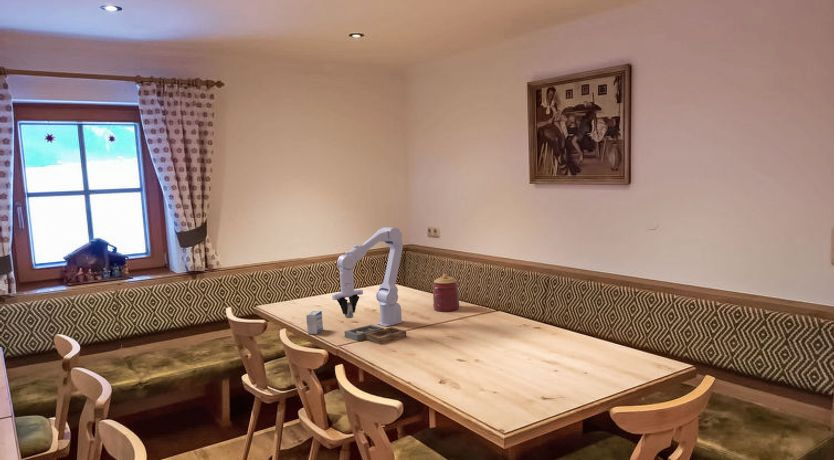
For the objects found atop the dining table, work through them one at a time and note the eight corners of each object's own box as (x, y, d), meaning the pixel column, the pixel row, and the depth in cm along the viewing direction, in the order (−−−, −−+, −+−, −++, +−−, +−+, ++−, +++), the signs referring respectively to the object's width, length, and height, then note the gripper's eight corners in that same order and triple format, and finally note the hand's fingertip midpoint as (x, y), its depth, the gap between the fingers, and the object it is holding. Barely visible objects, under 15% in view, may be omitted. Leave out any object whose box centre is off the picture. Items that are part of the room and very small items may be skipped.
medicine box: (316, 334, 261) (315, 315, 261) (307, 334, 262) (306, 314, 261) (323, 329, 269) (322, 310, 268) (313, 329, 270) (312, 310, 269)
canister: (464, 307, 299) (462, 272, 297) (451, 313, 288) (450, 276, 286) (441, 305, 306) (440, 270, 304) (428, 310, 295) (426, 275, 293)
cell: (350, 315, 264) (349, 301, 264) (354, 317, 262) (354, 302, 261) (343, 317, 262) (342, 302, 261) (348, 318, 259) (347, 303, 259)
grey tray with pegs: (371, 329, 265) (371, 323, 264) (384, 333, 257) (383, 326, 257) (344, 336, 256) (344, 329, 255) (357, 340, 248) (356, 333, 248)
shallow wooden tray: (392, 332, 259) (391, 326, 259) (406, 336, 251) (406, 331, 251) (365, 339, 250) (364, 333, 250) (379, 344, 242) (378, 338, 242)
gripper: (355, 278, 268) (357, 308, 269) (327, 284, 259) (329, 315, 260) (364, 280, 262) (366, 311, 264) (336, 286, 253) (338, 317, 255)
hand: (348, 313), depth 262 cm, fingers closed on cell, 4 cm apart
